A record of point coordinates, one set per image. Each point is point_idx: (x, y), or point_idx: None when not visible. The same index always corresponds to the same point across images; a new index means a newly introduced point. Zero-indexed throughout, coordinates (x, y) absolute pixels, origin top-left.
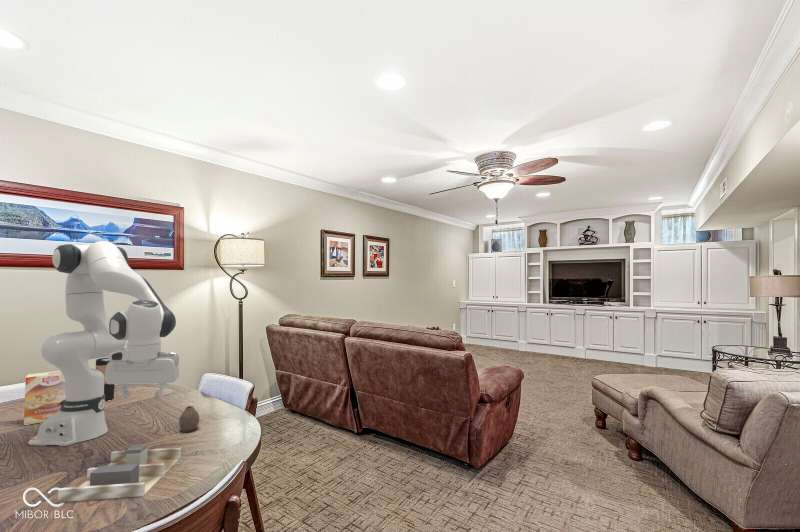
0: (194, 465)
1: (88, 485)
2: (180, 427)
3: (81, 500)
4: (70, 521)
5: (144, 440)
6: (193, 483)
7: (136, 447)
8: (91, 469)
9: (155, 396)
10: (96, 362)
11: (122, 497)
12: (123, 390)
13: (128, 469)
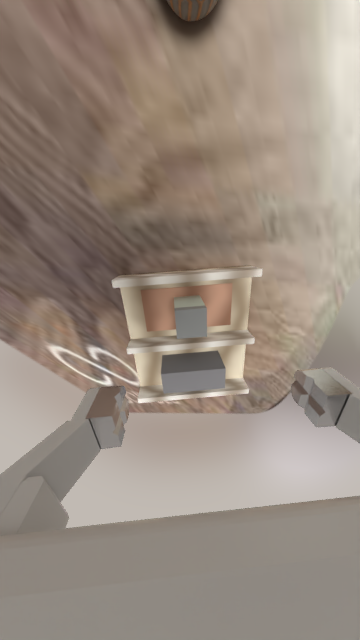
0: (282, 289)
1: (147, 357)
2: (170, 3)
3: None
4: (182, 408)
5: (86, 110)
6: (294, 345)
7: (191, 326)
8: (134, 353)
9: (298, 398)
10: None
11: None
12: (82, 465)
13: (218, 385)
